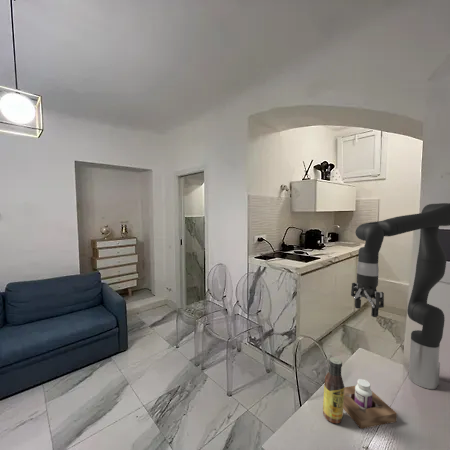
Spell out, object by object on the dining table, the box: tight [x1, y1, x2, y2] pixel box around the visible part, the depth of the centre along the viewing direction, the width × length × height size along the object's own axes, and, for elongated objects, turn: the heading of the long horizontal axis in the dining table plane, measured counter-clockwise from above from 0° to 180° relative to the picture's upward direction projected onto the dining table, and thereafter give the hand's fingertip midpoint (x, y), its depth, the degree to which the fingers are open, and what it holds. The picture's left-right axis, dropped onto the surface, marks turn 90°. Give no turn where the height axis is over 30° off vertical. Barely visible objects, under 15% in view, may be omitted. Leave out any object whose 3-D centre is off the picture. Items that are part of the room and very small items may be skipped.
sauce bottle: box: [322, 356, 345, 424], centre depth 81 cm, size 7×6×20 cm
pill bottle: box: [354, 378, 373, 409], centre depth 85 cm, size 5×5×10 cm
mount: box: [343, 385, 398, 430], centre depth 86 cm, size 14×14×3 cm
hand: (365, 312), depth 97 cm, fingers open, 8 cm apart
